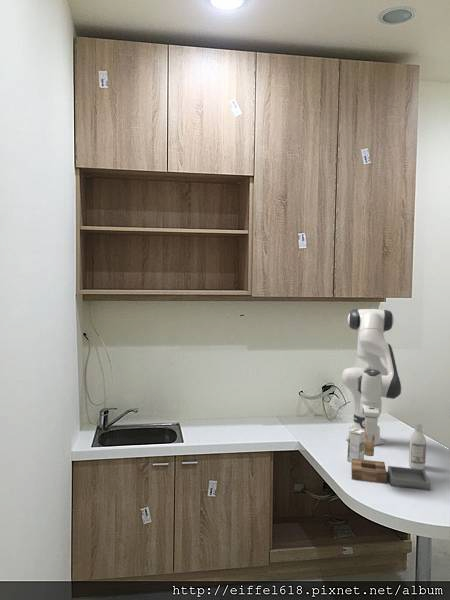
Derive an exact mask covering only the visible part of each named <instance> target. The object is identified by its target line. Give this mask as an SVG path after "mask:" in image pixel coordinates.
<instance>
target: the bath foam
mask: <svg viewBox="0 0 450 600" xmlns="http://www.w3.org/2000/svg"><path fill="white" fill-rule="evenodd" d="M408 451H409V452H408V453H409V454H408V466H409V468H413V469H422V470H425V468H426V455H427V453H426V452H427V439H426V437H425V434H424V433H423V423H421V422H415V423H414V431H413V432H412V434H411V435H410V438H409V450H408Z"/></svg>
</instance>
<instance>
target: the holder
mask: <svg viewBox="0 0 450 600" xmlns="http://www.w3.org/2000/svg"><path fill="white" fill-rule="evenodd" d="M350 467H351V480H358V481H366V482H375V483H380V484H381V483H382V484H384V483H385V484H387V480H388V479H387V475H388V471H387V468H386V464H385V461H378V460H377V461H376V460H369V459H368V460H367V459H364V460H361V459H352V462H351V466H350Z"/></svg>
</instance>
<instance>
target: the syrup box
mask: <svg viewBox="0 0 450 600" xmlns="http://www.w3.org/2000/svg"><path fill="white" fill-rule="evenodd" d="M348 435H349V438H348V442H347V456H346V457H347V459H346V460H347V462H350V463H352V459H361V460H365V459H364V457H365V455H364V445H365V431H364V430H361V429H356V428H354V429H352V430H350V429H349V431H348Z"/></svg>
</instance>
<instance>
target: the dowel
mask: <svg viewBox="0 0 450 600" xmlns="http://www.w3.org/2000/svg"><path fill="white" fill-rule="evenodd" d="M374 436H375V435H373V437H372V442H368V435H367V434H366V424H365V445H364V456H367V457H373V456H374V455H375V445H374Z"/></svg>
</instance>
